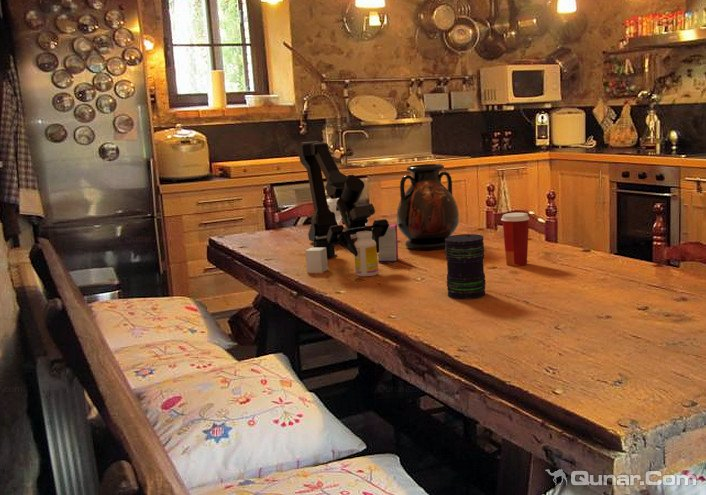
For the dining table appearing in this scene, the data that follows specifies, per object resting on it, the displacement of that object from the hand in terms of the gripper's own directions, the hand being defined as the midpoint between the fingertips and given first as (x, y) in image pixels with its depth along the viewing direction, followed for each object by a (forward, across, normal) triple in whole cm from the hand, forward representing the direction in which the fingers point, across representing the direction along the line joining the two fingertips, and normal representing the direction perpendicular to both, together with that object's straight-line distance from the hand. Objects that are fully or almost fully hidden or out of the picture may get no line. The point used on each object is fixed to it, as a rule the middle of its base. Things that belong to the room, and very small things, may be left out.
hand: (367, 253), depth 224 cm
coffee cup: (+16, +41, -6) cm, 45 cm away
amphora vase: (-15, +36, +24) cm, 46 cm away
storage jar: (+31, +10, -22) cm, 39 cm away
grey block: (-7, -10, +16) cm, 20 cm away
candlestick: (-39, +17, +49) cm, 65 cm away
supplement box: (-6, +14, +16) cm, 22 cm away
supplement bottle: (+4, 0, +6) cm, 7 cm away
